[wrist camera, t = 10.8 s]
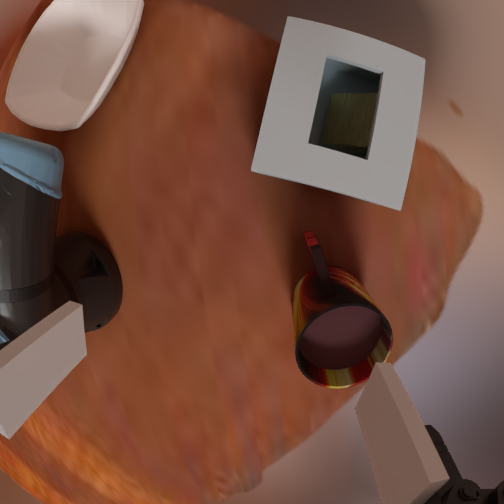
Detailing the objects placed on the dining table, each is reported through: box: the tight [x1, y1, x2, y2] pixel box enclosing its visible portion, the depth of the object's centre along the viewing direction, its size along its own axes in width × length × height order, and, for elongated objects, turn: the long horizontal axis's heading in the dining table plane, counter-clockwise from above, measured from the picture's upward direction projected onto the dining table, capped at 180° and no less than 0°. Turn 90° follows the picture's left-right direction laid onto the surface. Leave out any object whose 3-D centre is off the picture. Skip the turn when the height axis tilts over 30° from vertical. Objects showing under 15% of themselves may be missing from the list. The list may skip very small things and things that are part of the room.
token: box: [321, 93, 378, 153], centre depth 29 cm, size 3×6×8 cm
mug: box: [292, 230, 393, 388], centre depth 32 cm, size 10×14×12 cm
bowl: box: [5, 0, 144, 131], centre depth 29 cm, size 21×21×9 cm
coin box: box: [251, 16, 425, 211], centre depth 28 cm, size 14×16×10 cm
